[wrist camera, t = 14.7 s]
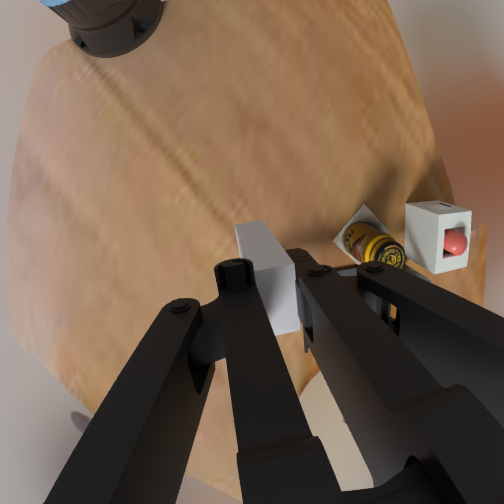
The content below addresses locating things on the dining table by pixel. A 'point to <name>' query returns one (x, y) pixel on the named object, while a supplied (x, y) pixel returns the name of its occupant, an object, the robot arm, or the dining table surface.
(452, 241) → the plunger
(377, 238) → the condiment
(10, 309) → the dining table surface
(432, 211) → the cabinet
